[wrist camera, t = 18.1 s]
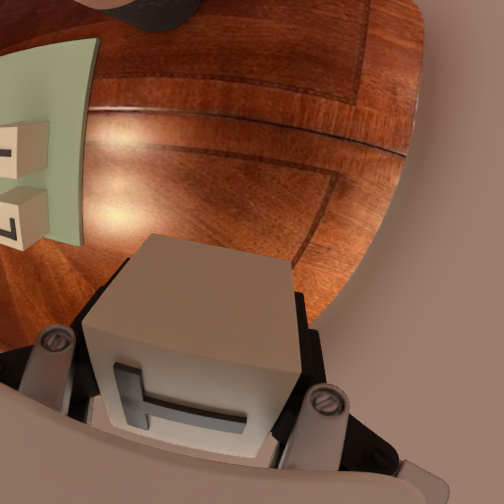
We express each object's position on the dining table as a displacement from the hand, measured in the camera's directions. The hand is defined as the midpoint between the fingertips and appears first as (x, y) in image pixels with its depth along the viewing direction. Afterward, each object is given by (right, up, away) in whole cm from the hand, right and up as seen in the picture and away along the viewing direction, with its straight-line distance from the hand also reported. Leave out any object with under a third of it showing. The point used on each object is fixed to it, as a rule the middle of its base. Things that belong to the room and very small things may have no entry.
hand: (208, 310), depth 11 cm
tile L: (-23, +7, +16) cm, 29 cm away
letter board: (-25, +15, +13) cm, 32 cm away
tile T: (0, 0, 0) cm, 1 cm away
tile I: (-22, +14, +13) cm, 29 cm away
